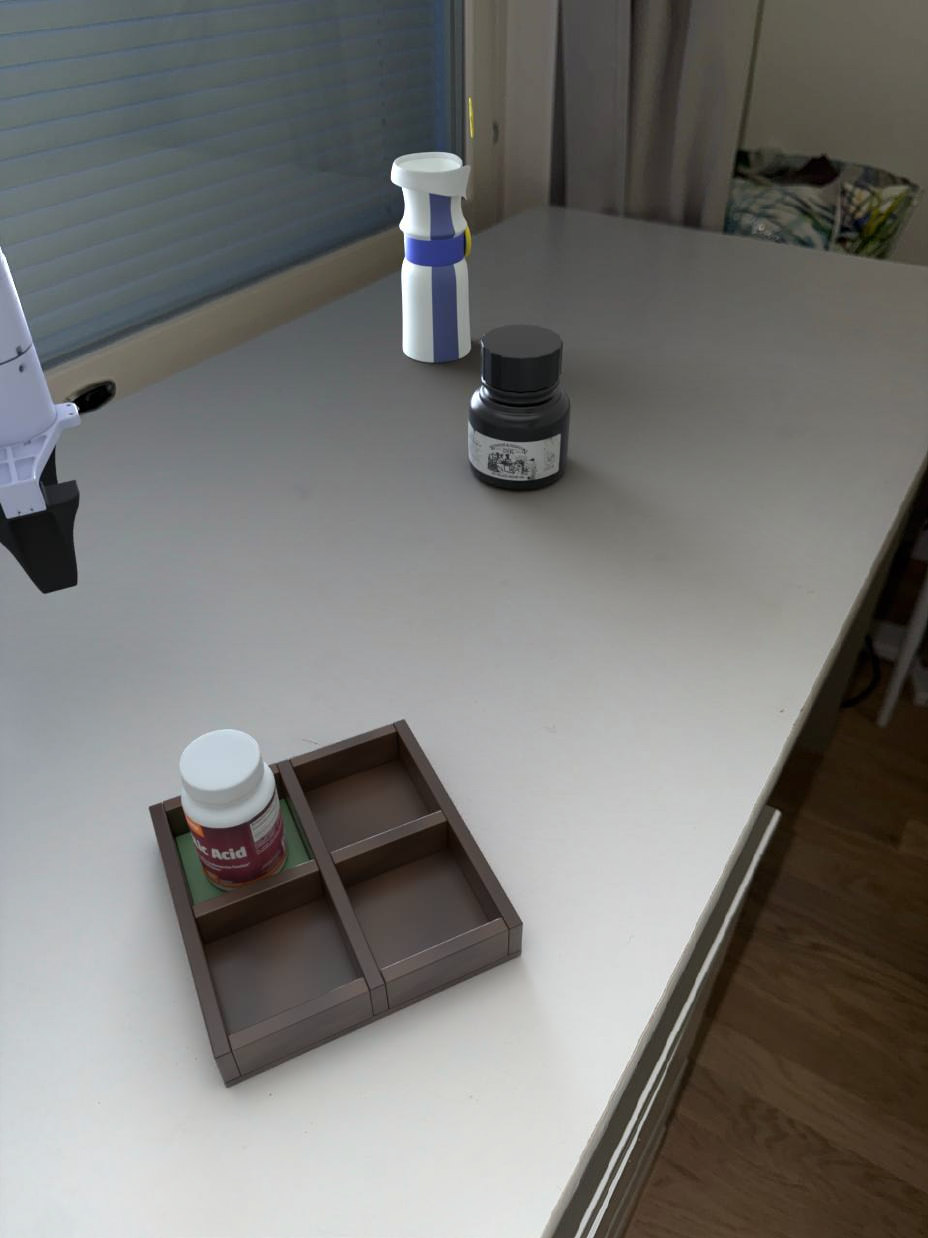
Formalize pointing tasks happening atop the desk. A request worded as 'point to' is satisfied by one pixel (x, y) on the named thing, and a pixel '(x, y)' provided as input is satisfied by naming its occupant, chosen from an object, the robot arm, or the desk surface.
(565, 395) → the ink bottle
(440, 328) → the water bottle
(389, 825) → the tray
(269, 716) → the desk surface
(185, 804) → the pill bottle
